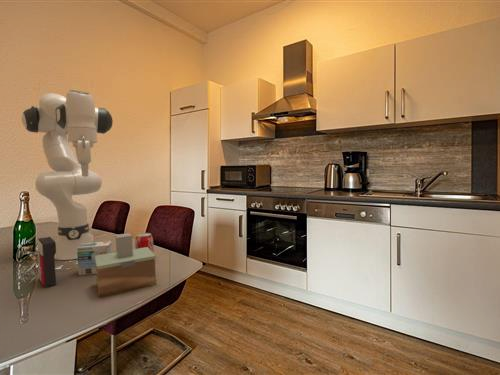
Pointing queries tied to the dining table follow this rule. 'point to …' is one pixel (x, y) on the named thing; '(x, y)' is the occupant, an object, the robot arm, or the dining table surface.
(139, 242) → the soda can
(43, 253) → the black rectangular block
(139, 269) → the storage box
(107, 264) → the lid
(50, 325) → the dining table surface
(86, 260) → the light bulb box
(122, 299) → the dining table surface
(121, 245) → the block
